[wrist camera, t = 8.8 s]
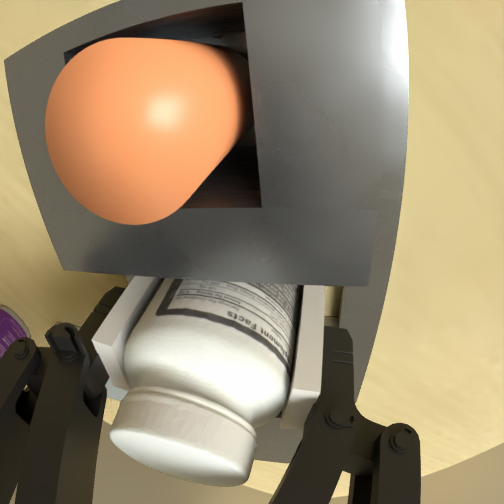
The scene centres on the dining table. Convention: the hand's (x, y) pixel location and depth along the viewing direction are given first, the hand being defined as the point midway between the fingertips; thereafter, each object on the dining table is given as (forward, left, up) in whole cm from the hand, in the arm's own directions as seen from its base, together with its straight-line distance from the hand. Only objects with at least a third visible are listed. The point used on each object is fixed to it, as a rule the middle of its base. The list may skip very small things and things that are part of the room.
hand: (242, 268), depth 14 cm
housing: (0, 0, -1) cm, 1 cm away
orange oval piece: (-8, 0, +2) cm, 8 cm away
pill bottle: (0, 0, -1) cm, 1 cm away
